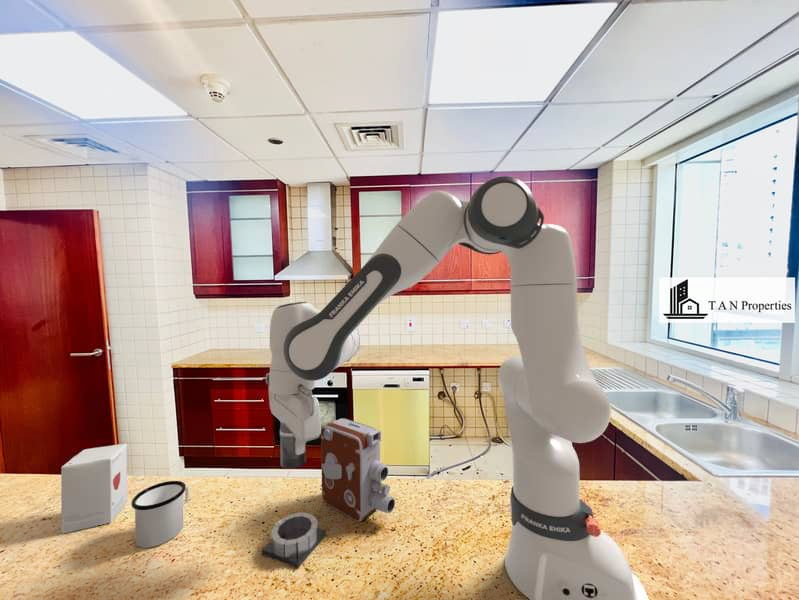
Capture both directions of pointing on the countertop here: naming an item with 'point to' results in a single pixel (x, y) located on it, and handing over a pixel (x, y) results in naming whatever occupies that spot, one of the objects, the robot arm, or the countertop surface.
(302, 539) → the mount
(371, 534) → the countertop surface
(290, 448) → the lens
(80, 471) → the supplement box
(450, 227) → the robot arm
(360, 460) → the cine camera
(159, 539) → the mug
